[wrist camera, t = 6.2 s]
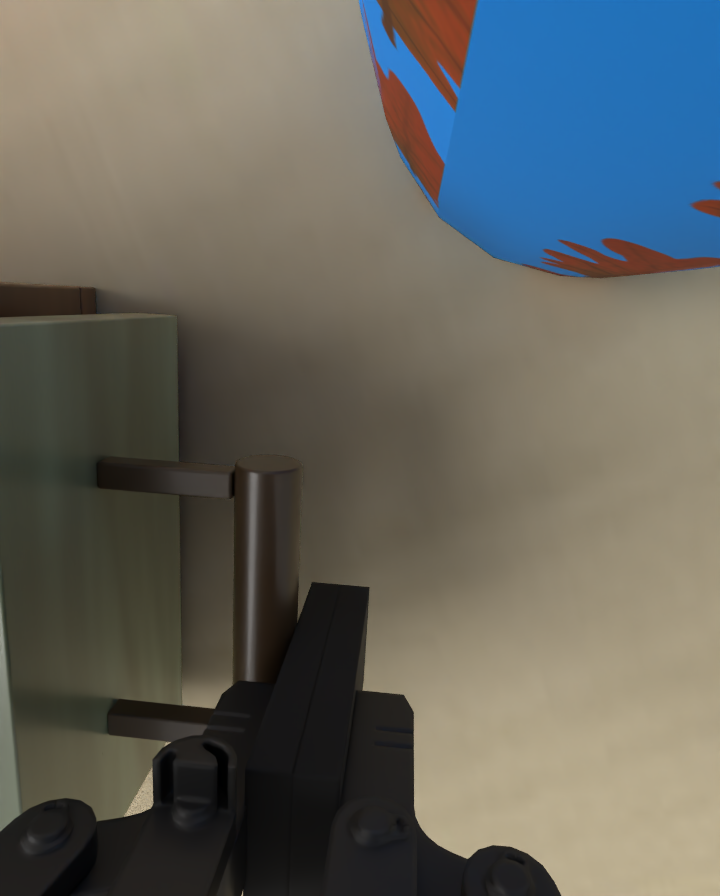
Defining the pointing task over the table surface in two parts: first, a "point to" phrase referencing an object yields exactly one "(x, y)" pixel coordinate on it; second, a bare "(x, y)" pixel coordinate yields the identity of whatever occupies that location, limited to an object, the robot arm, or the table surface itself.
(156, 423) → the drawer
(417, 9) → the thermos
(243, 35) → the table surface
